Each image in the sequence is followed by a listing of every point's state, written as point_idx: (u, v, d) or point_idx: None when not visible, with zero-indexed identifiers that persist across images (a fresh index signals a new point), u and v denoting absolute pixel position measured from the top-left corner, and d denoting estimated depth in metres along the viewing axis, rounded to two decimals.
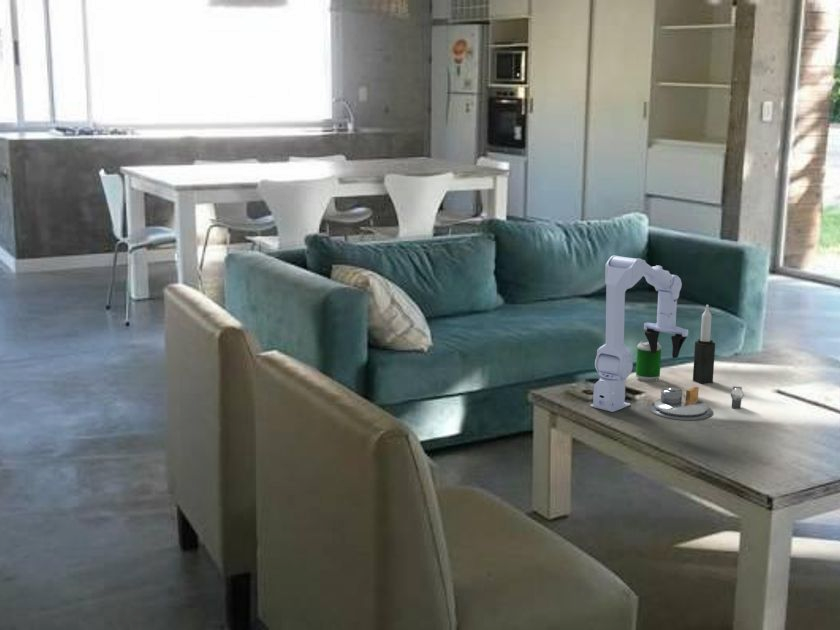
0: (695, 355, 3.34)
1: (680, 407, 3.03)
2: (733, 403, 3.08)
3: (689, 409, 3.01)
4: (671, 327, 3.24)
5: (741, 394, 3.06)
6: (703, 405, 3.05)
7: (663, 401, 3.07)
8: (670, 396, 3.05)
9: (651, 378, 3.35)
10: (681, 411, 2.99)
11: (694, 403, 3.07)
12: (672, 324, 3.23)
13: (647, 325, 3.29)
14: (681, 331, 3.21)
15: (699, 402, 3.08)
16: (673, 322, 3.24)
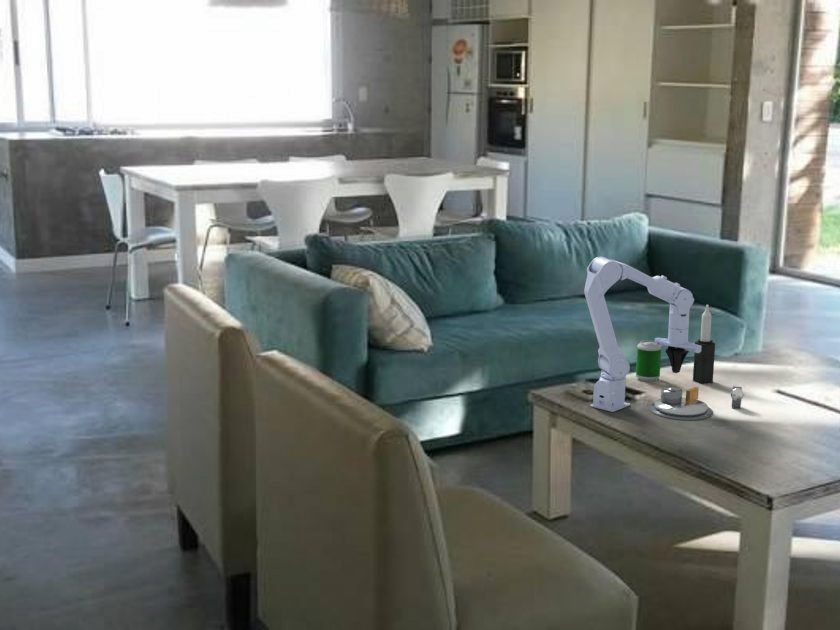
0: (695, 355, 3.34)
1: (680, 407, 3.03)
2: (733, 403, 3.08)
3: (689, 409, 3.01)
4: (683, 343, 3.08)
5: (741, 394, 3.06)
6: (703, 405, 3.05)
7: (663, 401, 3.07)
8: (670, 396, 3.05)
9: (651, 378, 3.35)
10: (681, 411, 2.99)
11: (694, 403, 3.07)
12: (684, 339, 3.08)
13: (658, 340, 3.14)
14: (694, 347, 3.06)
15: (699, 402, 3.08)
16: (685, 338, 3.08)
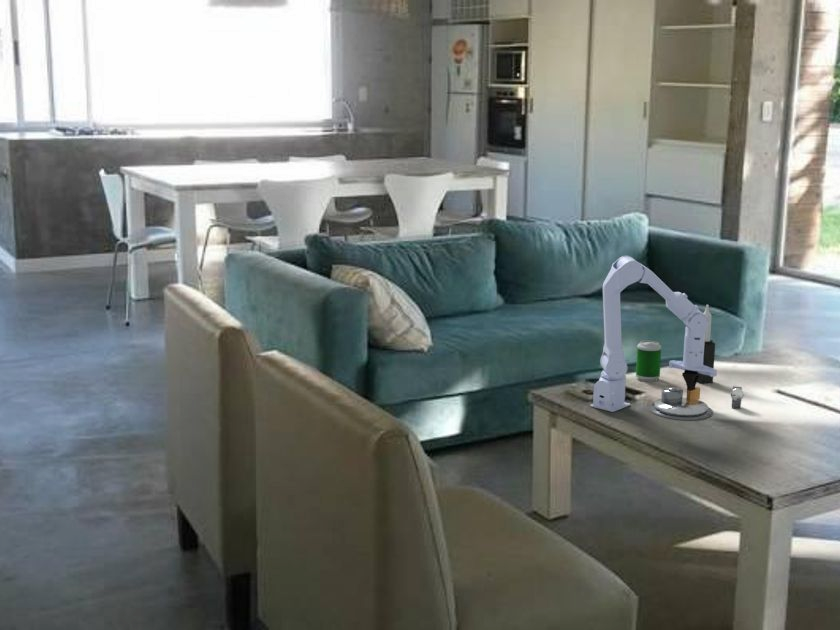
0: None
1: (679, 407, 3.03)
2: (733, 403, 3.08)
3: (688, 409, 3.01)
4: (698, 366, 3.06)
5: (741, 394, 3.06)
6: (704, 405, 3.05)
7: (663, 401, 3.07)
8: (669, 396, 3.05)
9: (651, 378, 3.35)
10: (679, 411, 3.00)
11: (694, 403, 3.06)
12: (700, 363, 3.06)
13: (672, 363, 3.12)
14: (709, 371, 3.04)
15: (700, 402, 3.07)
16: (701, 361, 3.06)
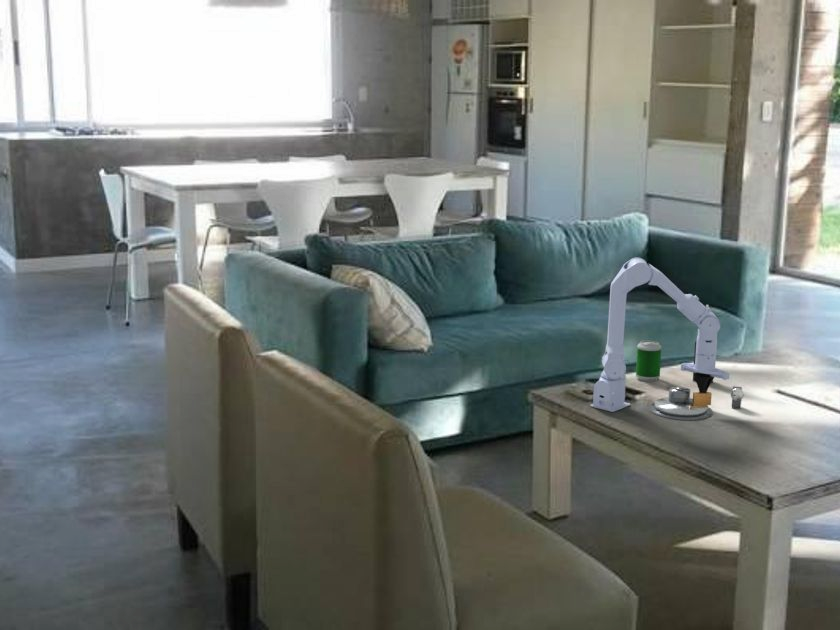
0: (695, 355, 3.34)
1: (672, 406, 3.04)
2: (733, 403, 3.08)
3: (675, 409, 3.01)
4: (711, 369, 3.03)
5: (741, 394, 3.06)
6: (700, 409, 3.01)
7: None
8: (671, 394, 3.07)
9: (651, 378, 3.35)
10: (664, 408, 3.02)
11: (695, 406, 3.04)
12: (712, 366, 3.03)
13: (684, 366, 3.09)
14: (722, 374, 3.01)
15: (703, 407, 3.03)
16: (713, 364, 3.03)
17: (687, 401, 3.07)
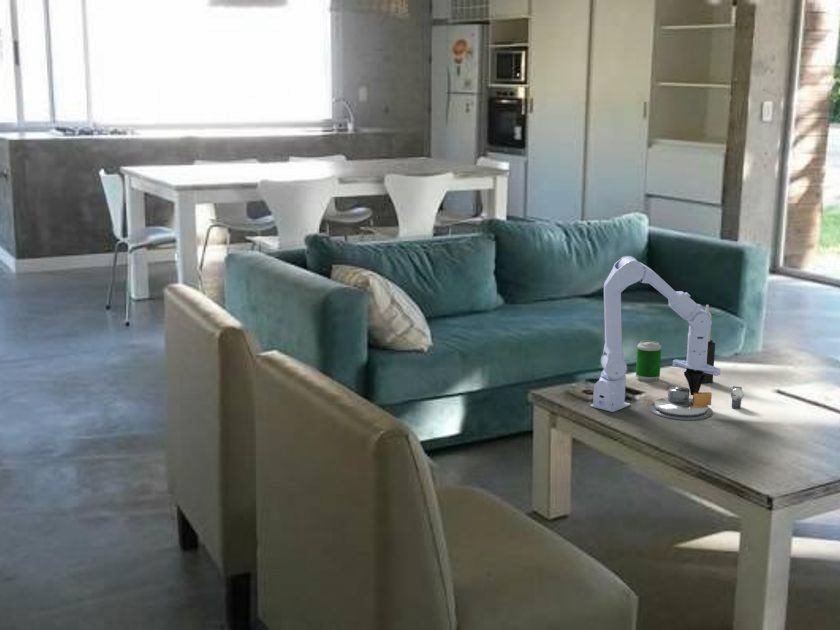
0: None
1: (672, 406, 3.04)
2: (733, 403, 3.08)
3: (675, 409, 3.01)
4: (702, 365, 3.05)
5: (741, 394, 3.06)
6: (700, 409, 3.01)
7: (668, 398, 3.10)
8: (670, 394, 3.07)
9: (651, 378, 3.35)
10: (664, 408, 3.02)
11: (695, 406, 3.04)
12: (703, 362, 3.05)
13: (676, 362, 3.11)
14: (713, 370, 3.03)
15: (703, 407, 3.03)
16: (704, 360, 3.05)
17: (687, 401, 3.07)
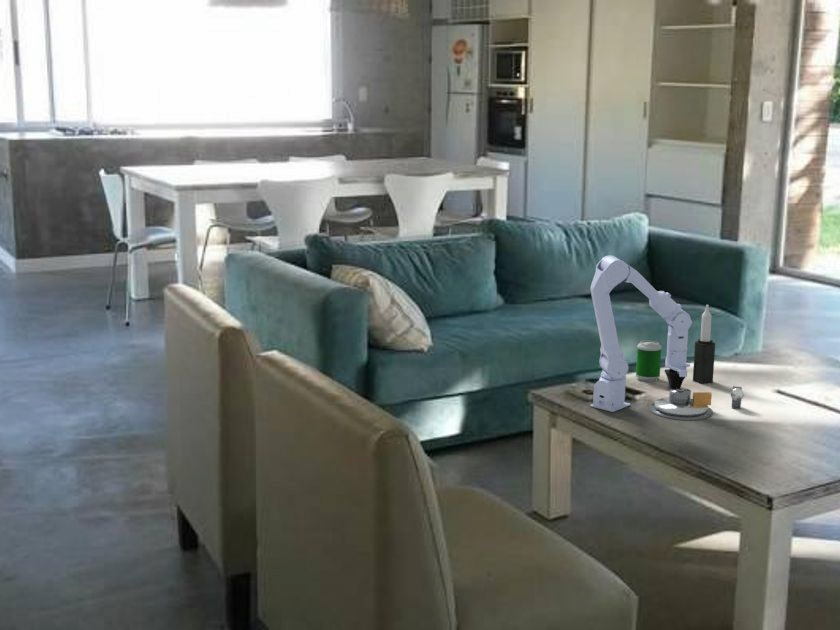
0: (695, 355, 3.34)
1: (672, 406, 3.04)
2: (733, 403, 3.08)
3: (675, 409, 3.01)
4: (675, 365, 3.07)
5: (741, 394, 3.06)
6: (700, 409, 3.01)
7: (669, 399, 3.09)
8: (671, 395, 3.06)
9: (651, 378, 3.35)
10: (664, 408, 3.02)
11: (695, 406, 3.04)
12: (676, 362, 3.07)
13: None
14: (678, 370, 3.04)
15: (703, 407, 3.03)
16: (678, 360, 3.07)
17: (688, 402, 3.06)
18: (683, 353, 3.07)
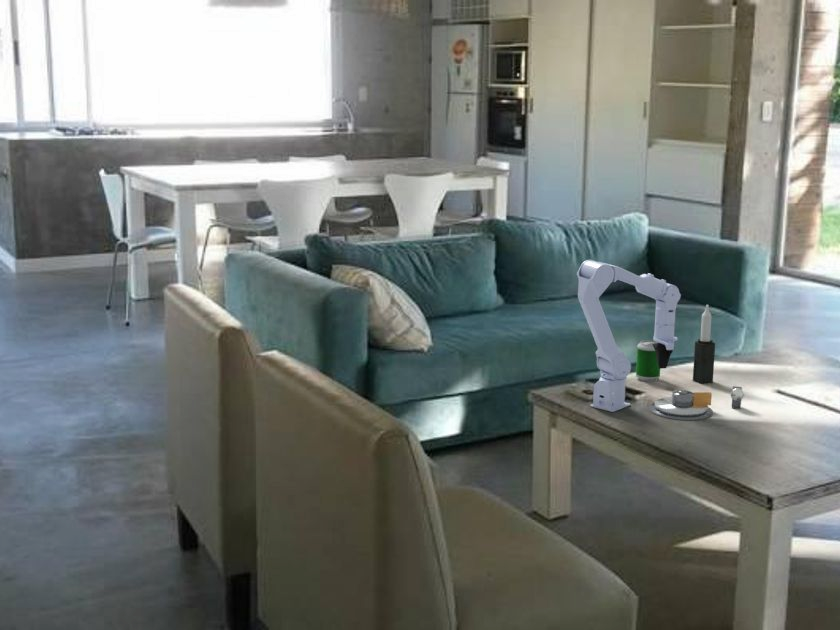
0: (695, 355, 3.34)
1: (672, 406, 3.04)
2: (733, 403, 3.08)
3: (675, 409, 3.01)
4: (662, 338, 3.10)
5: (741, 394, 3.06)
6: (700, 409, 3.01)
7: (672, 402, 3.06)
8: (674, 397, 3.04)
9: (651, 378, 3.35)
10: (664, 408, 3.02)
11: (695, 406, 3.04)
12: (663, 335, 3.10)
13: None
14: (665, 344, 3.07)
15: (703, 407, 3.03)
16: (665, 334, 3.10)
17: (691, 405, 3.03)
18: (670, 327, 3.09)
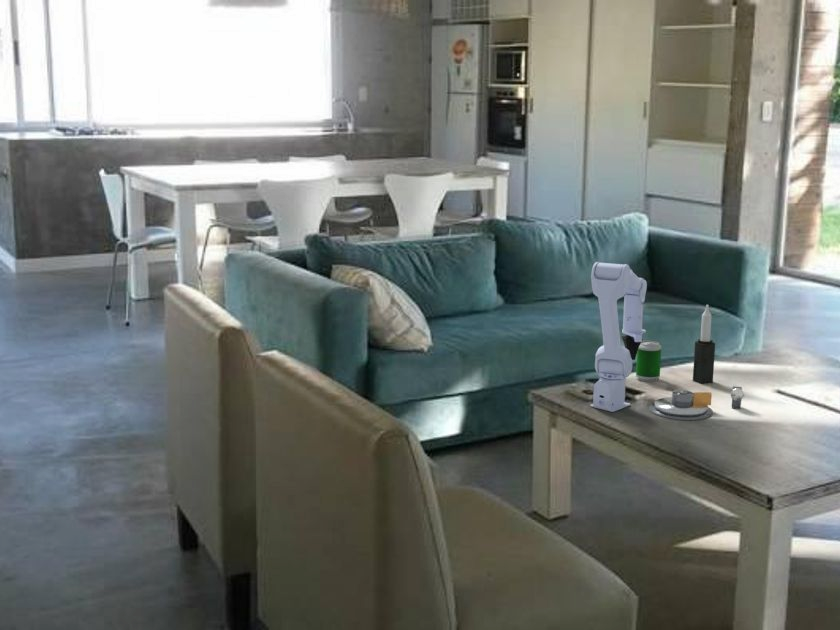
0: (695, 355, 3.34)
1: (672, 406, 3.04)
2: (733, 403, 3.08)
3: (675, 409, 3.01)
4: (631, 331, 3.19)
5: (741, 394, 3.06)
6: (700, 409, 3.01)
7: (672, 402, 3.06)
8: (674, 397, 3.04)
9: (651, 378, 3.35)
10: (664, 408, 3.02)
11: (695, 406, 3.04)
12: (632, 328, 3.19)
13: None
14: (634, 336, 3.16)
15: (703, 407, 3.03)
16: (633, 326, 3.19)
17: (691, 405, 3.03)
18: (638, 319, 3.19)
